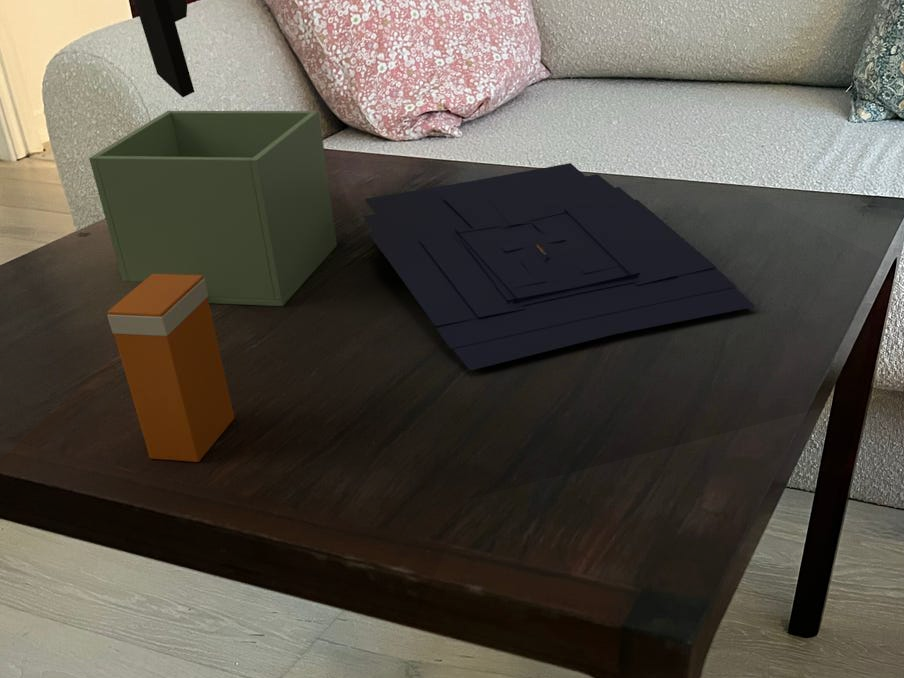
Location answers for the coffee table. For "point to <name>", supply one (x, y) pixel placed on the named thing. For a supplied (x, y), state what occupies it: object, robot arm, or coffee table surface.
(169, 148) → the bin
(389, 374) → the coffee table surface
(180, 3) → the robot arm
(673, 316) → the folded navy cloth
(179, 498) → the coffee table surface
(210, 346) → the block
